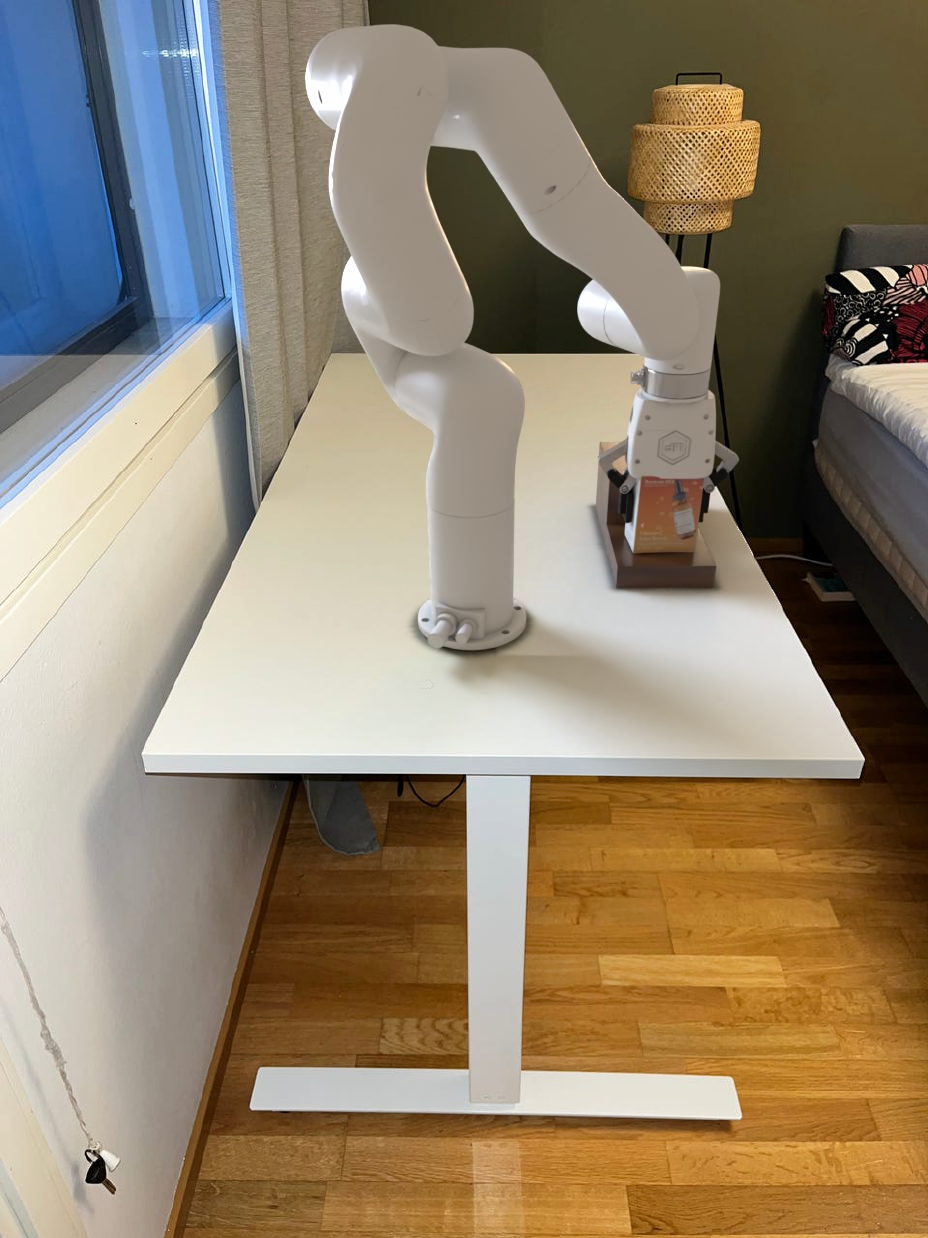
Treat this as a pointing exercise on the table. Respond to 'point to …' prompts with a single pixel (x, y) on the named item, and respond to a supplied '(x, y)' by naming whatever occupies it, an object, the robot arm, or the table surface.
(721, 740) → the table surface
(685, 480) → the small box
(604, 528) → the step shelf
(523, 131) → the robot arm
